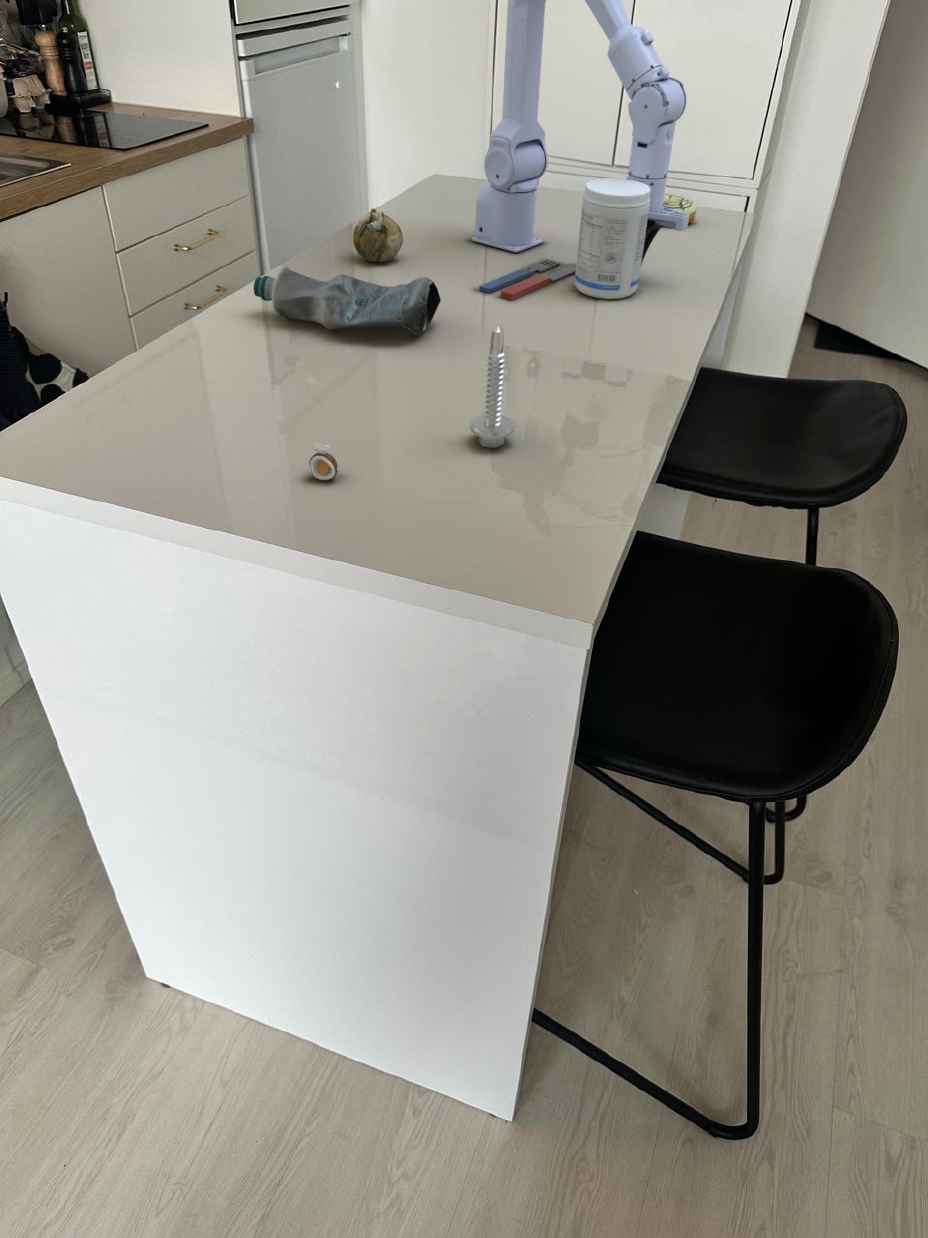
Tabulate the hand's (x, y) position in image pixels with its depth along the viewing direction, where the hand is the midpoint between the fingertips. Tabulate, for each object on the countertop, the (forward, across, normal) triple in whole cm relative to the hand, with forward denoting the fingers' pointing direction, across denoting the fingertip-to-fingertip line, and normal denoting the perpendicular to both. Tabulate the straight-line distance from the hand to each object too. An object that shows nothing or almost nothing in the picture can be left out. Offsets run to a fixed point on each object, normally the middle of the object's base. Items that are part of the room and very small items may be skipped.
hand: (633, 269), depth 143 cm
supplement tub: (+2, 0, +8) cm, 8 cm away
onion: (+2, +34, +21) cm, 40 cm away
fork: (+1, +13, +12) cm, 18 cm away
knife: (+1, +9, +11) cm, 14 cm away
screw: (+2, -16, +58) cm, 60 cm away
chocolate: (+2, -8, +75) cm, 76 cm away
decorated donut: (+2, +12, -33) cm, 35 cm away
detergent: (+2, +19, +44) cm, 48 cm away
